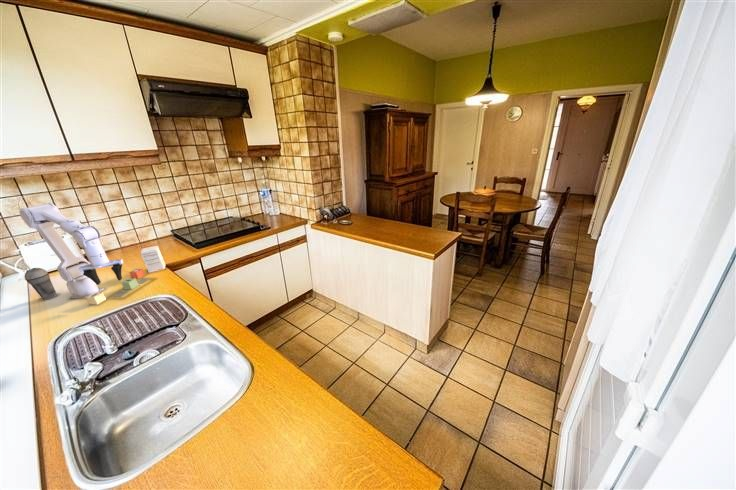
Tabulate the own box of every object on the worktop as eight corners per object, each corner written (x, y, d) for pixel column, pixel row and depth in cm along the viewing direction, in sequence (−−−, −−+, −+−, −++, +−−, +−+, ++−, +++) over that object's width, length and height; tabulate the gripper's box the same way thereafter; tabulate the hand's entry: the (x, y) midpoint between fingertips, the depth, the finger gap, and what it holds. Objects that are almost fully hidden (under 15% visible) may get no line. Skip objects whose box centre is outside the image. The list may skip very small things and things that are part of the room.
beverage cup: (63, 294, 129) (41, 257, 122) (42, 302, 123) (17, 264, 116) (57, 291, 132) (35, 255, 125) (36, 299, 126) (11, 262, 119)
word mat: (106, 298, 124) (105, 297, 124) (139, 279, 140) (139, 278, 140) (123, 298, 123) (122, 297, 123) (155, 278, 139) (154, 278, 139)
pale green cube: (124, 289, 130) (120, 282, 128) (131, 285, 133) (128, 278, 132) (131, 289, 129) (128, 282, 128) (138, 285, 133) (135, 278, 131)
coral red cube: (132, 279, 141) (129, 272, 139) (138, 275, 144) (135, 268, 143) (139, 279, 140) (135, 272, 139) (145, 275, 144) (142, 268, 142)
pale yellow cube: (90, 304, 119) (85, 297, 118) (99, 299, 123) (95, 292, 122) (98, 305, 119) (93, 297, 117) (106, 299, 123) (102, 292, 121)
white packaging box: (150, 268, 152) (142, 248, 147) (166, 264, 155) (158, 245, 150) (148, 273, 146) (139, 252, 141) (164, 269, 149) (156, 249, 144)
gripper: (69, 261, 108) (84, 290, 114) (113, 254, 114) (126, 281, 119) (77, 255, 114) (92, 282, 120) (119, 248, 120) (131, 274, 125)
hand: (109, 281), depth 120 cm, fingers open, 7 cm apart
